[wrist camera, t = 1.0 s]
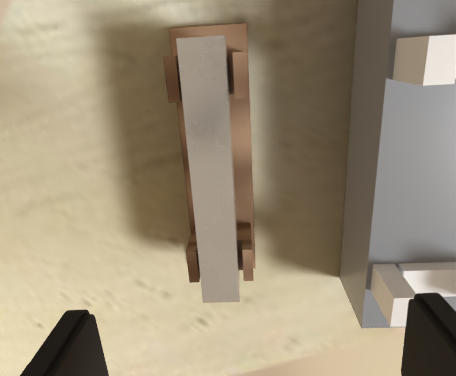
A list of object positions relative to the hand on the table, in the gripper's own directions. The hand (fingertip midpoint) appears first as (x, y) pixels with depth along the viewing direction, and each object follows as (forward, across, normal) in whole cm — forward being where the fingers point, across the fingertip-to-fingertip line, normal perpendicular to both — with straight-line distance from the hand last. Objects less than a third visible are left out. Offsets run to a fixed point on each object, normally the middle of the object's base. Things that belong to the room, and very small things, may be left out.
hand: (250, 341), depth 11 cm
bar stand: (+22, +2, 0) cm, 22 cm away
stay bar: (+17, +2, 0) cm, 17 cm away
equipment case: (+22, -19, 0) cm, 29 cm away
